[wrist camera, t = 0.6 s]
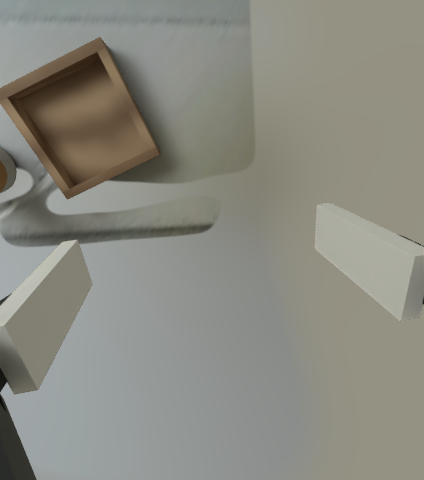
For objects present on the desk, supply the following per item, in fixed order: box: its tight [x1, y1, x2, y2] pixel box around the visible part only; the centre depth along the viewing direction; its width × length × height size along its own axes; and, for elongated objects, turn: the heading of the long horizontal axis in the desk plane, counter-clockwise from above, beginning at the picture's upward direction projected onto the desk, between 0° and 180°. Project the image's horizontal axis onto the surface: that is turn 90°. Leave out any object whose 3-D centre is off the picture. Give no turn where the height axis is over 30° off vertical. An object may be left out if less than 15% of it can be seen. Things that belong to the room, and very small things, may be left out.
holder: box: [0, 37, 161, 199], centre depth 32 cm, size 13×13×4 cm
